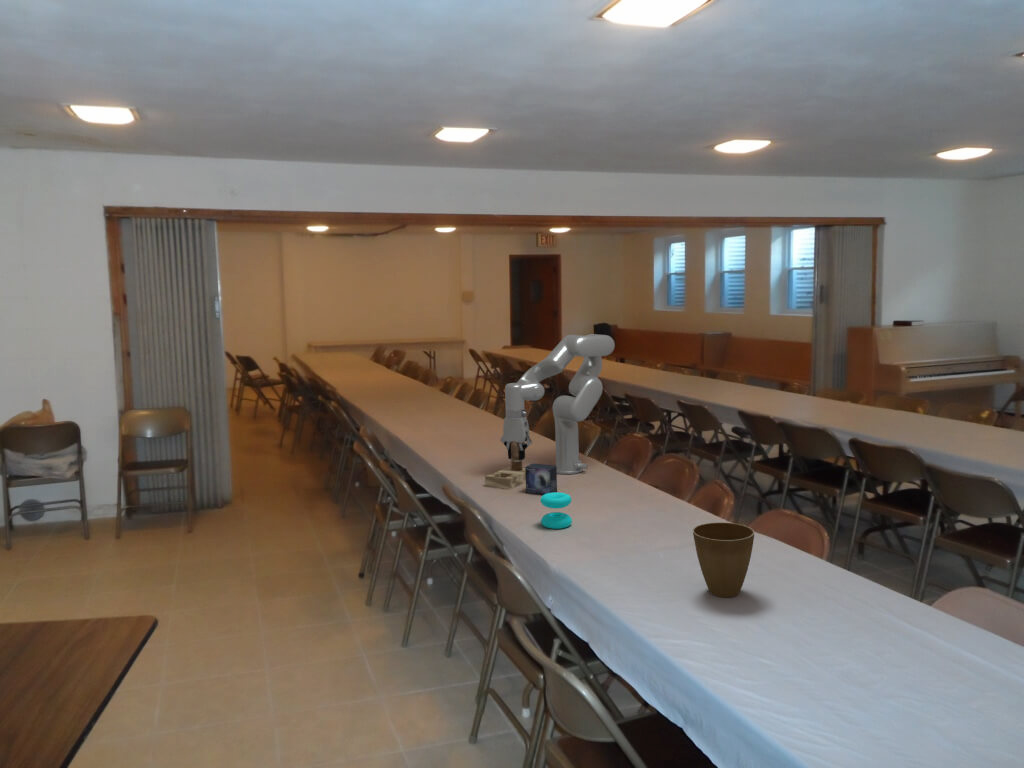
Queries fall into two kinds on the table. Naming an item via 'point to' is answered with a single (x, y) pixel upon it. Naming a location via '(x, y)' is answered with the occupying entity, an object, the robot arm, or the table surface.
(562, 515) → the donuts
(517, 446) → the peg
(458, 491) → the table surface
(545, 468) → the small box
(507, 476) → the board
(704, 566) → the plant pot
